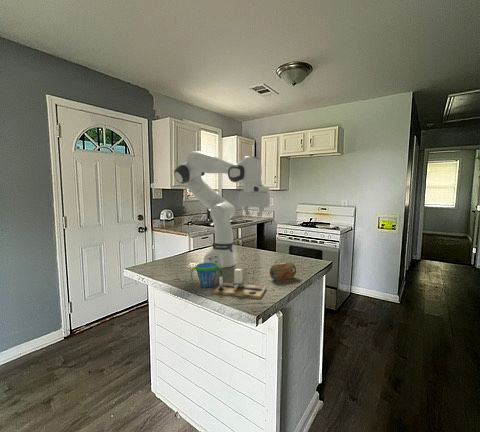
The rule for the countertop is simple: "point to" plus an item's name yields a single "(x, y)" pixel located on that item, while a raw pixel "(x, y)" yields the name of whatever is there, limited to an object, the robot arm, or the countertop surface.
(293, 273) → the tin
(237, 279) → the sliding pointer
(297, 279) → the countertop surface
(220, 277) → the fixed leg
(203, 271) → the snack cup
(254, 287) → the board
